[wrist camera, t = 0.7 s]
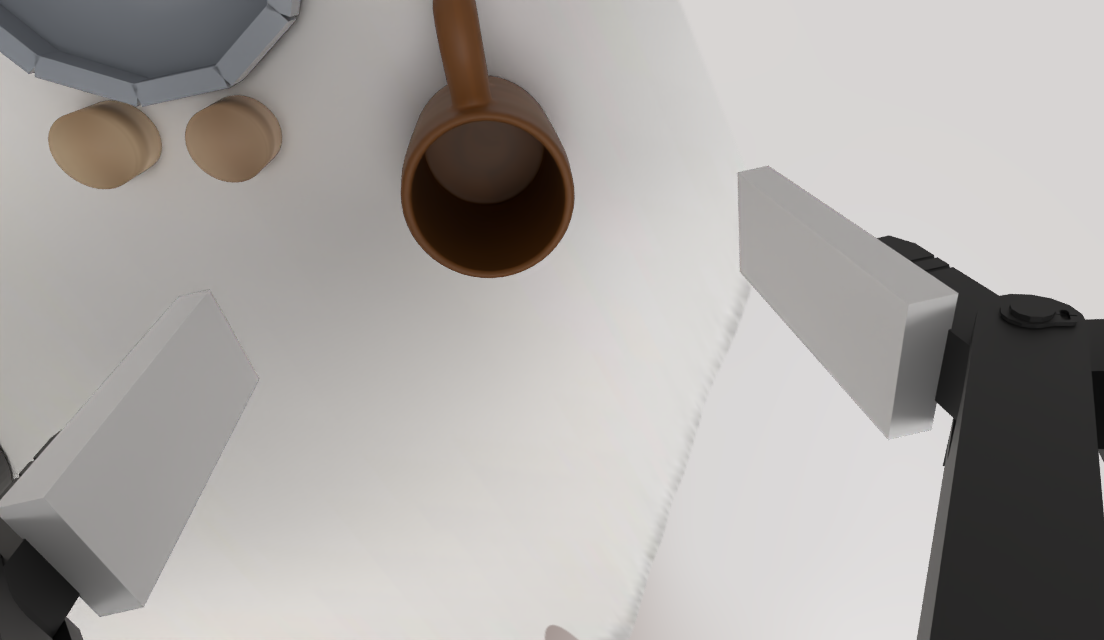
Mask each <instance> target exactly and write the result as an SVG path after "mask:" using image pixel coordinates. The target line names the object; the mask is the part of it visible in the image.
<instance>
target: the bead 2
mask: <svg viewBox="0 0 1104 640" xmlns="http://www.w3.org/2000/svg"><path fill="white" fill-rule="evenodd" d="M185 141H186V146H187V149H188V152H189V154H190V156H191V157H192V159H193V160H194V162H195V163H196V164H197V165H198V166H199V167H200V168H201V169H202V170H203V171H204V172H206V173H207V174H209V175H210V176H212V177H214V178H216V179H219V180H222V181H226V182H243V181H246V180H249V179H251V178H253V177H254V176H256V175H257V174H258V173H259V172H260V171H261V170H262V169H263V168H264V167H265V166H266V165H267V164H268V163H269V162H270V161H271V160H272V159H273V158H274V157H275V156H276V155H277V153H278V151H279V150H280V147H281V143H282V133H281V128H280V125H279V123H278V121H277V119H276V118H275V116H274V115H273V113H272V112H271V111H270V110H269V109H268V108H267V107H266V106H265V105H263V104H262V103H260V102H259V101H257V100H255V99H252V98H250V97H246V96H239V95H235V96H229V97H225V98H223V99H221V100H219V101H217V102H216V103H214V104H212V105H210V106H208V107H207V108H205V109H203V110H201V111H199V112H198V113H196V114H195V115H194V116H193V117H192V118H191V119H190V121H189V123H188V125H187V127H186V132H185Z"/></svg>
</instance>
